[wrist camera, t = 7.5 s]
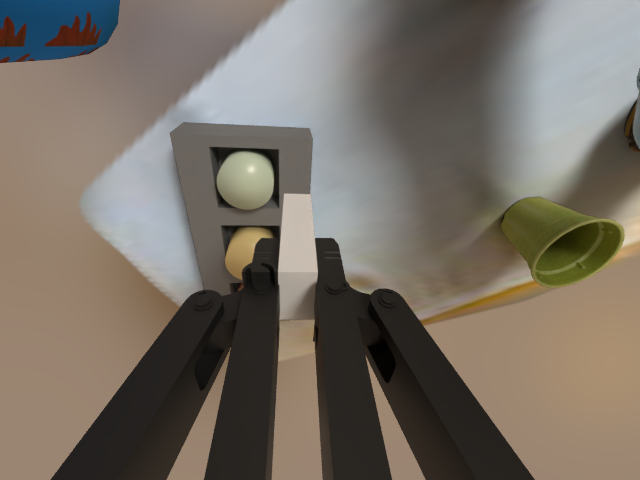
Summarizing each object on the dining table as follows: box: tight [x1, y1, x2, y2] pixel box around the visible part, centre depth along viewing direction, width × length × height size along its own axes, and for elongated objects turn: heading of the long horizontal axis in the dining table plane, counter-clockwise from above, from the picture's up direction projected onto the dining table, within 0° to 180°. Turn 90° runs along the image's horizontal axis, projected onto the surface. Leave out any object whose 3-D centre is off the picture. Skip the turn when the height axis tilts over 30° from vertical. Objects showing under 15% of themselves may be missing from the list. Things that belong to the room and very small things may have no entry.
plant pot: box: [501, 197, 625, 288], centre depth 34 cm, size 9×9×9 cm
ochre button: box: [225, 225, 275, 280], centre depth 31 cm, size 5×5×4 cm
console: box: [170, 122, 313, 296], centre depth 33 cm, size 24×12×4 cm, turn 176°
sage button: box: [217, 148, 275, 210], centre depth 27 cm, size 5×5×4 cm
